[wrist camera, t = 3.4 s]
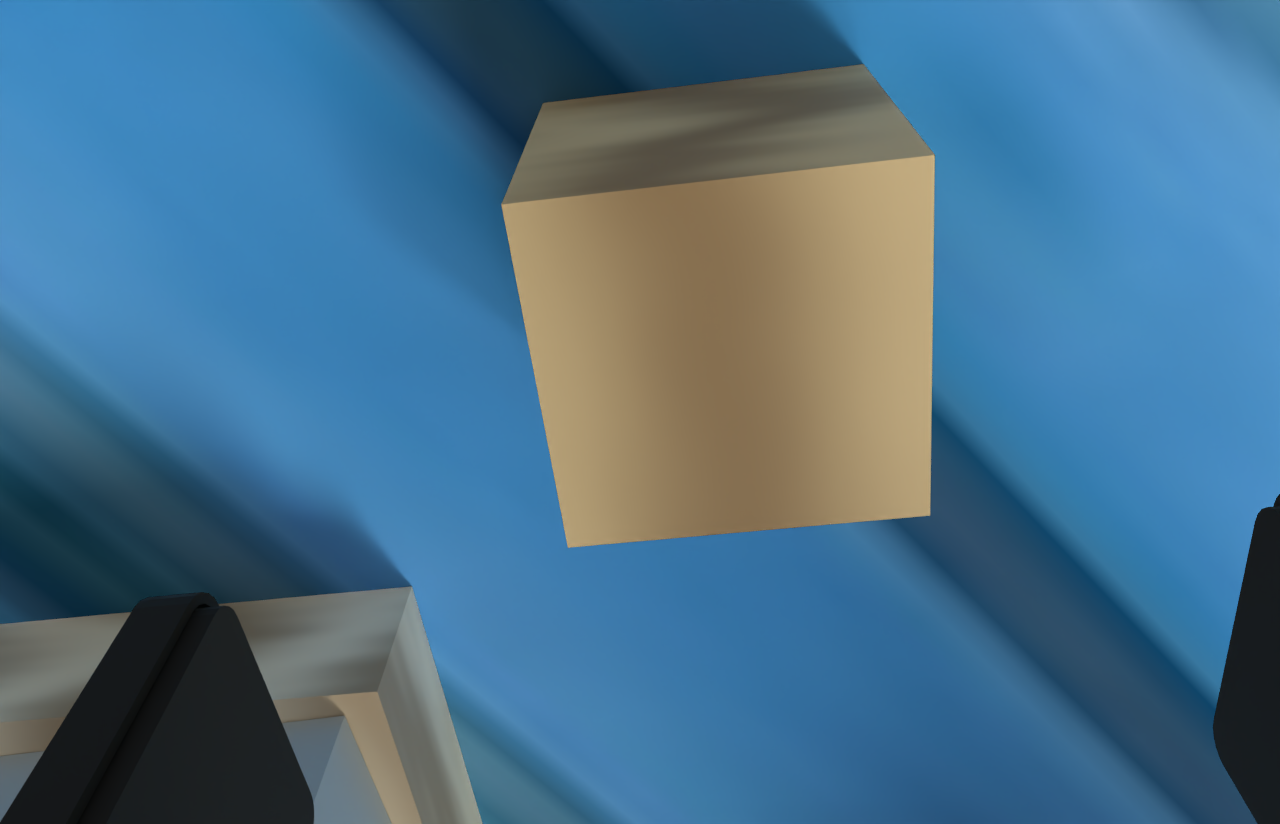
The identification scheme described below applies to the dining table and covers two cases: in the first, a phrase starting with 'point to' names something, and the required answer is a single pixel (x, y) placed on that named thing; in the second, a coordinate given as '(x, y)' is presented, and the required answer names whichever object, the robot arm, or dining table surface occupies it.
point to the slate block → (325, 755)
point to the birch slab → (284, 687)
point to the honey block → (729, 305)
